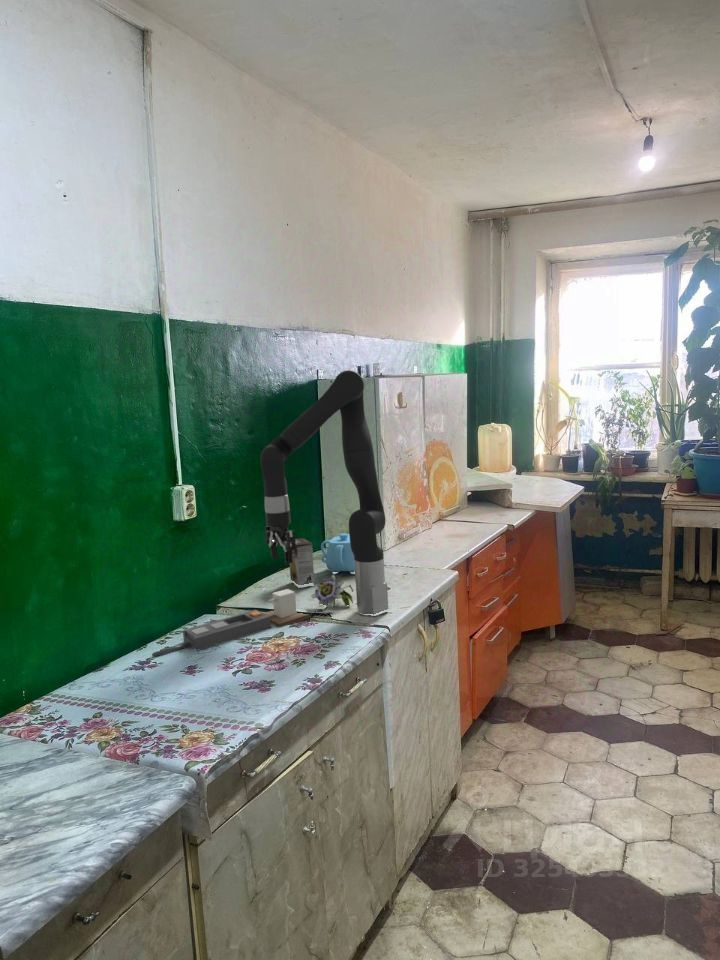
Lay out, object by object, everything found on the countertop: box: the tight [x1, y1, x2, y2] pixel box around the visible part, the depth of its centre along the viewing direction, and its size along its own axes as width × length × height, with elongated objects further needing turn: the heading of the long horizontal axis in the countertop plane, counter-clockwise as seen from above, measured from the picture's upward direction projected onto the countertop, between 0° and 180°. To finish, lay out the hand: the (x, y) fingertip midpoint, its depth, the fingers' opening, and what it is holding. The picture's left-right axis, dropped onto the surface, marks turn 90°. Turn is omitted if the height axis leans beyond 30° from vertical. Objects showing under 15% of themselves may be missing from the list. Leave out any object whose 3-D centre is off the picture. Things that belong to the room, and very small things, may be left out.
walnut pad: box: [263, 610, 310, 628], centre depth 215 cm, size 12×12×1 cm
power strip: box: [151, 609, 272, 657], centre depth 200 cm, size 9×35×4 cm, turn 127°
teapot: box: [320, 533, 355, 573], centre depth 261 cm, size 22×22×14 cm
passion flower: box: [310, 574, 354, 608], centre depth 223 cm, size 11×11×12 cm
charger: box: [267, 588, 297, 618], centre depth 214 cm, size 4×8×7 cm, turn 127°
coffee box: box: [288, 537, 315, 585], centre depth 247 cm, size 9×6×16 cm
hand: (281, 560), depth 213 cm, fingers open, 8 cm apart
